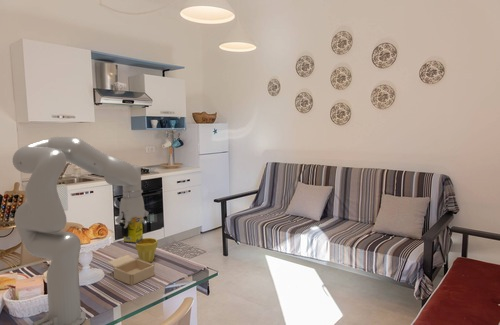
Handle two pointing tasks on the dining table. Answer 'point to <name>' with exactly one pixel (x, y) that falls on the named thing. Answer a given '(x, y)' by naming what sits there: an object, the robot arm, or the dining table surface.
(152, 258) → the plant pot
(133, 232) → the supplement box
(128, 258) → the flap
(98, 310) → the dining table surface
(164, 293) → the dining table surface
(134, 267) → the carton
